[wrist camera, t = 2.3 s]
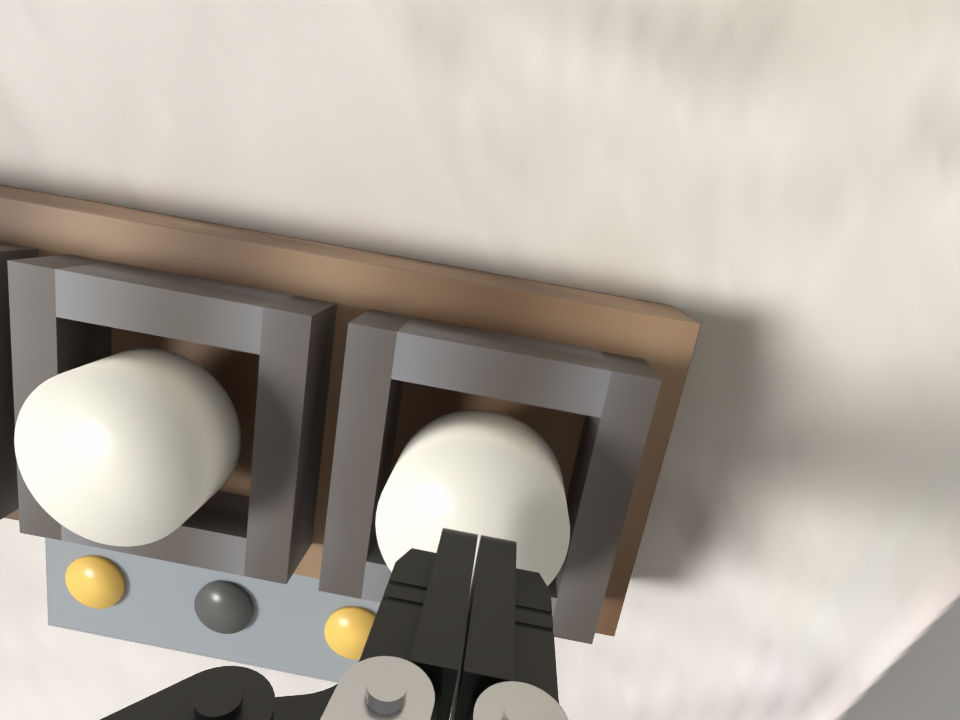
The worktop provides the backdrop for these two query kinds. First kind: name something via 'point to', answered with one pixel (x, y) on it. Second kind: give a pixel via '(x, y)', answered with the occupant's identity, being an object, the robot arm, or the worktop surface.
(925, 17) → the worktop surface
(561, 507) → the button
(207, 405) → the button middle
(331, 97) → the worktop surface
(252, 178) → the worktop surface
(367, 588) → the button board
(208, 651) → the pattern card
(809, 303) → the worktop surface
